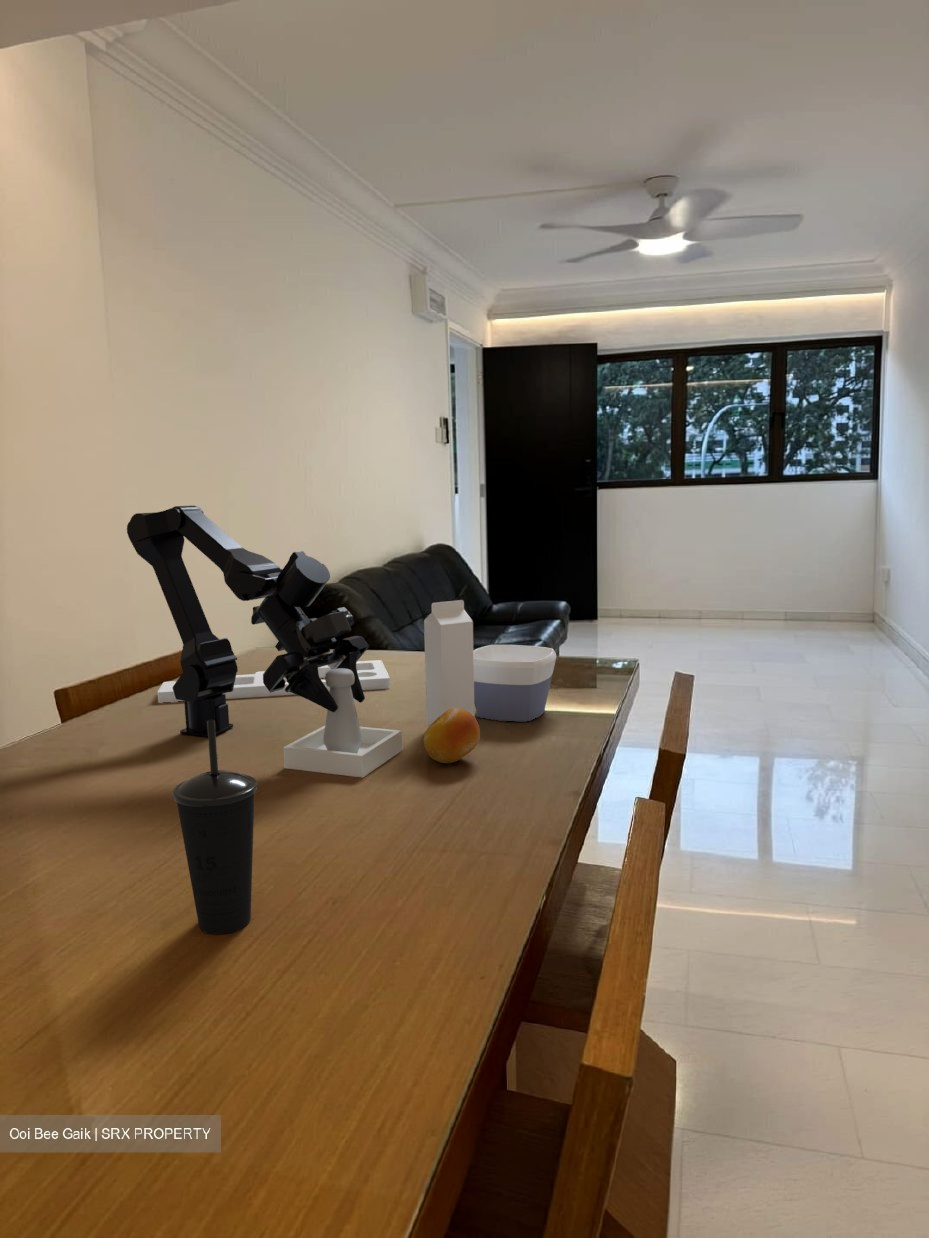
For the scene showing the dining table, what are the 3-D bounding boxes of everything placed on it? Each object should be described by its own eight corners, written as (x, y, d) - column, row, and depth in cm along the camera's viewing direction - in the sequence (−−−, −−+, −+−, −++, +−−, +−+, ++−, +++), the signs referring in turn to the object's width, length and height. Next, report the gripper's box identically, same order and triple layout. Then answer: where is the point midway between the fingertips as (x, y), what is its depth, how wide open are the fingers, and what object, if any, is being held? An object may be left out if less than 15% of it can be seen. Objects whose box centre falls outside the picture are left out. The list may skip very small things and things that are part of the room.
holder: (158, 706, 167) (156, 692, 166) (170, 684, 184) (169, 672, 184) (390, 690, 175) (389, 677, 175) (381, 671, 193) (381, 659, 192)
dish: (284, 768, 127) (283, 747, 127) (329, 742, 139) (328, 723, 139) (362, 777, 123) (361, 755, 122) (402, 750, 135) (401, 730, 134)
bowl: (455, 721, 151) (453, 658, 149) (486, 699, 165) (485, 642, 163) (539, 729, 145) (539, 664, 143) (564, 706, 159) (564, 647, 157)
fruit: (412, 760, 130) (411, 709, 128) (458, 749, 135) (457, 699, 134) (446, 775, 123) (444, 721, 122) (492, 762, 128) (491, 710, 127)
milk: (475, 734, 143) (473, 602, 139) (442, 739, 140) (440, 605, 136) (457, 725, 148) (455, 597, 144) (425, 730, 145) (423, 600, 142)
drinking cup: (193, 904, 87) (178, 711, 83) (270, 900, 87) (258, 708, 84) (174, 945, 79) (157, 734, 76) (259, 939, 80) (246, 730, 77)
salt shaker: (364, 757, 129) (361, 672, 127) (326, 761, 128) (321, 675, 125) (359, 746, 135) (356, 664, 132) (322, 749, 133) (318, 667, 131)
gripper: (272, 600, 121) (336, 685, 117) (357, 585, 137) (416, 660, 133) (236, 650, 127) (295, 733, 123) (322, 630, 142) (377, 703, 138)
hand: (349, 705), depth 129 cm, fingers open, 6 cm apart
